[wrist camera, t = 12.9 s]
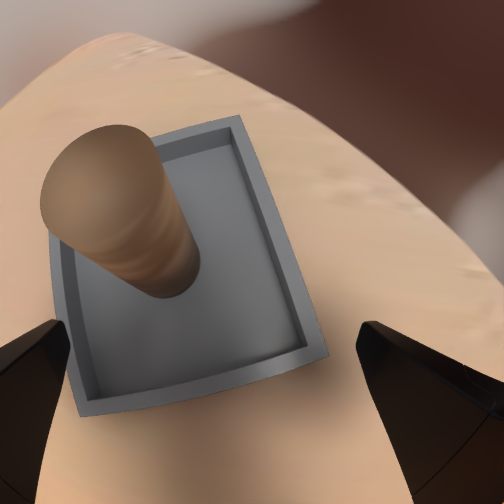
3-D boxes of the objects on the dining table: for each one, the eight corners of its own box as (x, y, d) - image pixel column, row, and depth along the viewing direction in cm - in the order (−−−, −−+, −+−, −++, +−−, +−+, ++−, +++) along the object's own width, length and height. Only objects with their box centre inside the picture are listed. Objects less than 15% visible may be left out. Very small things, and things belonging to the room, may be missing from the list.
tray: (317, 354, 19) (329, 355, 16) (99, 410, 17) (80, 417, 14) (239, 138, 24) (239, 114, 21) (66, 194, 22) (49, 177, 19)
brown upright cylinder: (151, 312, 19) (58, 271, 8) (120, 252, 20) (32, 171, 10) (214, 273, 20) (183, 190, 9) (178, 215, 21) (130, 106, 11)
